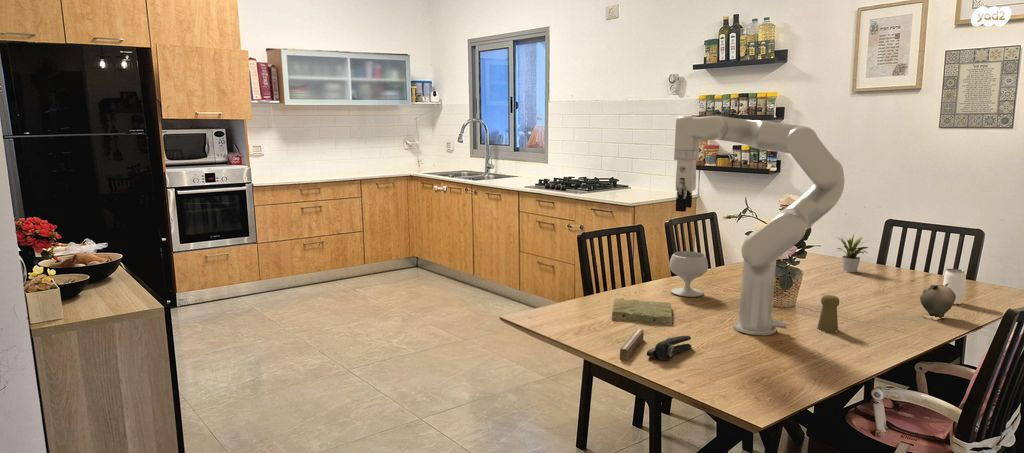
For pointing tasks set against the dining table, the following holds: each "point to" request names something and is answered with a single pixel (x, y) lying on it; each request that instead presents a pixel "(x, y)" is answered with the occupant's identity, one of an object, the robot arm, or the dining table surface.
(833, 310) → the cork
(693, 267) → the chalice
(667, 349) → the can opener
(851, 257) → the house plant
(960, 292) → the can
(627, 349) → the walnut rail
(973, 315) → the dining table surface
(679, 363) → the dining table surface
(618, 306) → the decorative tile
